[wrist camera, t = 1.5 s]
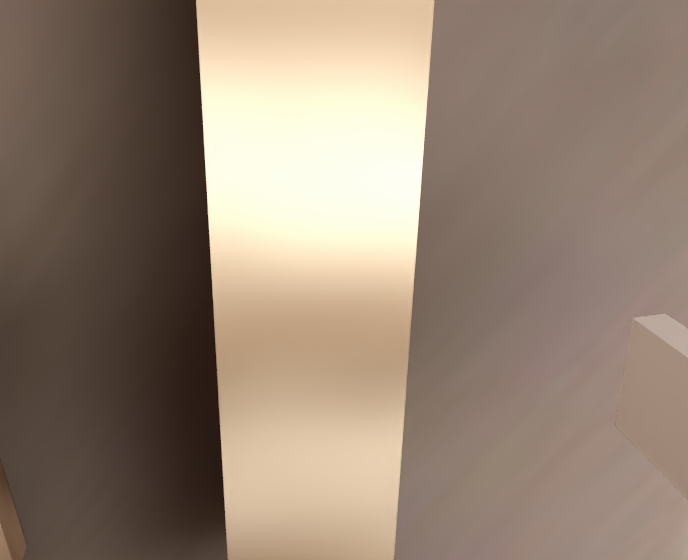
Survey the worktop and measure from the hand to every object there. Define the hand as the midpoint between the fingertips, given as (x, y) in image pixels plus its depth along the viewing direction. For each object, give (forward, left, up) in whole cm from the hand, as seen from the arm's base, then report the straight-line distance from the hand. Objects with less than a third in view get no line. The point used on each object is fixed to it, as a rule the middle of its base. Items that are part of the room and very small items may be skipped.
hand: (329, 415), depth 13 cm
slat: (0, 0, -12) cm, 12 cm away
